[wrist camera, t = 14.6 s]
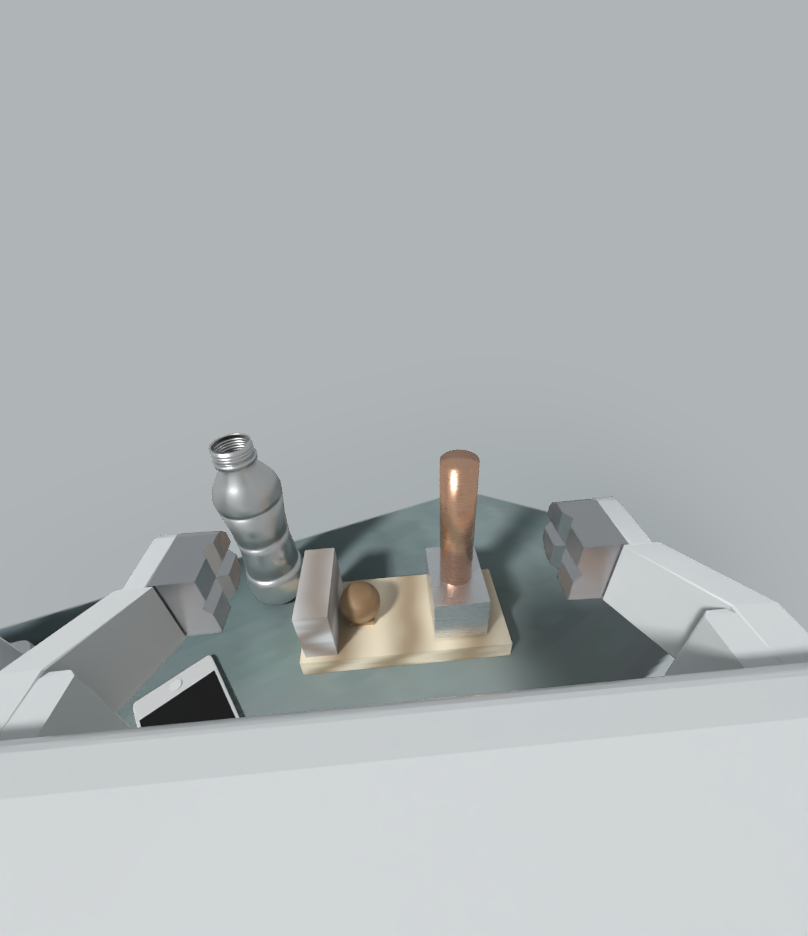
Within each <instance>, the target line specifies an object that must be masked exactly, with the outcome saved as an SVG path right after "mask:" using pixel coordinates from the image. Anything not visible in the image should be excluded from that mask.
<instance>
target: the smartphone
mask: <svg viewBox="0 0 808 936" xmlns="http://www.w3.org/2000/svg"><path fill="white" fill-rule="evenodd" d="M133 711H134V715H135V720H136V724H137V728H138V727H149V726H159V725H169V724H179V723H190V722H200V721H210V720H220V719H231V718H240V717H239V714H238V712H237V710H236V708H235V706H234V703H233V701H232V699H231V697H230V695H229V692H228V690H227V688H226V686H225V684H224V681H223V679H222V677H221V675H220V673H219V670H218V668H217V666H216V664H215V661H214V660H213V658H212V657H211V656H209V655H208V656H206V657H205V658H203V659H202V660H200V661H199V662H197V663H195V664H194V665H192V666H191V667H189V668H188V669H186V670H185V671H183V672H181V673H180V674H178V675H177V676H175V677H174V678H172V679H171V680H169V681H168V682H166V683H164V684H163V685H161V686H160V687H158V688H157V689H155V690H154V691H152V692H150V693H149V694H147V695H146V696H144V697H143V698H141V699H140V700H138V701H137V702H135V703H134V705H133Z"/></svg>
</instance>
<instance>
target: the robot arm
mask: <svg viewBox="0 0 808 936" xmlns="http://www.w3.org/2000/svg"><path fill="white" fill-rule="evenodd" d="M548 516H549V518H550V520H551V522H550V523H549V524H548V525H547V526H546V527H545V529H544V535H543V542H544V549H545V553H546V556H547V558H548V560H549V562H550V564H551V565H553V566H554V567H556V568H557V569H559V572H558V576H557V579H558V581H559V583H560V585H561V587H562V589H563V591H564V593H565V595H566V597H567V599H568V600H577V599H592V598H603V600H604V601H605V602H606V603H608V604H609V605H610V606H611V607H612V608H614V609H615V610H616V611H617V612H619V613H620V614H621V615H622V616H623V617H625V618H626V619H627V620H628V621H630V622H631V623H632V624H633V625H635V626H636V627H637V628H638V629H639V630H641V631H642V632H643V633H644V634H646V635H647V636H648V637H649V638H650V639H652V640H653V641H654V642H655V643H657V644H658V645H659V646H660V647H661V648H663V649H664V650H665V651H666V652H668V653H669V654H670V655H671V656H672V657H674V658H675V660H674V661H673V663H672V664H671V666H670V668H669V669H668V671H667V672H666V674H665V676H661V677H651V678H641V679H630V680H620V681H610V682H600V683H589V684H579V685H569V686H559V687H548V688H538V689H528V690H517V691H507V692H497V693H486V694H476V695H466V696H455V697H445V698H435V699H424V700H414V701H404V702H394V703H384V704H374V705H363V706H353V707H343V708H333V709H323V710H313V711H302V712H292V713H282V714H272V715H261V716H251V717H241V718H231V719H220V720H210V721H200V722H190V723H179V724H169V725H159V726H149V727H138V728H131V726H130V725H129V724H128V723H127V722H126V721H125V720H124V719H123V718H122V717H121V716H120V715H119V714H118V712H119V711H120V710H121V709H122V707H123V706H124V705H125V704H126V703H127V702H128V701H129V700H130V699H131V698H132V697H133V696H134V694H135V693H136V692H137V691H138V690H139V689H140V688H141V687H142V686H143V685H144V684H145V683H146V681H147V680H148V679H149V678H150V677H151V676H152V675H153V674H154V673H155V672H156V671H157V670H158V668H159V667H160V666H161V665H162V664H163V663H164V662H165V661H166V660H167V659H168V658H169V656H170V655H171V654H172V653H173V652H174V651H175V650H176V649H177V648H178V647H179V646H180V645H181V643H182V642H183V641H184V640H185V639H186V636H192V635H200V634H208V633H217V632H223V629H224V626H225V623H226V620H227V618H228V615H229V612H230V609H231V606H230V604H229V602H228V599H229V598H230V597H231V596H232V595H233V594H235V593H236V592H237V589H238V585H239V582H240V571H241V570H240V564H239V560H238V558H237V555H236V554H234V553H233V552H231V551H230V550H228V547H229V544H230V540H229V538H228V536H227V534H226V532H223V531H214V532H198V533H182V534H175V535H174V534H173V535H160V536H159V537H157V538H155V539H154V541H153V542H152V544H151V545H150V547H149V548H148V550H147V551H146V553H145V554H144V556H143V558H142V559H141V561H140V562H139V564H138V565H137V567H136V568H135V570H134V571H133V573H132V574H131V576H130V578H129V579H128V581H127V582H126V584H125V585H124V587H123V588H122V590H115V591H113V592H112V593H111V594H109V595H107V596H106V597H105V598H103V599H102V600H100V601H99V602H97V603H96V604H95V605H93V606H92V607H90V608H89V609H87V610H86V611H85V612H83V613H82V614H80V615H79V616H78V617H76V618H75V619H73V620H72V621H70V622H69V623H68V624H66V625H65V626H63V627H62V628H60V629H59V630H58V631H56V632H55V633H53V634H52V635H50V636H49V637H48V638H46V639H45V640H43V641H42V642H40V643H39V644H38V645H36V646H34V645H33V644H32V643H30V642H28V641H26V640H22V641H17V642H13V643H9V642H7V641H6V640H4V639H3V638H1V637H0V936H808V632H807V631H806V630H805V629H804V628H803V627H802V626H801V625H800V624H799V623H798V622H796V620H795V619H794V618H793V617H792V616H791V615H790V614H789V613H788V612H787V611H786V610H785V609H784V608H782V606H781V605H780V604H779V603H777V602H775V601H774V600H772V599H770V598H768V597H766V596H763V595H762V594H760V593H758V592H756V591H754V590H752V589H750V588H748V587H746V586H744V585H742V584H740V583H739V582H737V581H735V580H733V579H731V578H729V577H727V576H725V575H723V574H721V573H719V572H717V571H715V570H713V569H711V568H709V567H707V566H705V565H703V564H701V563H699V562H697V561H695V560H694V559H692V558H689V557H688V556H685V555H684V554H682V553H680V552H678V551H676V550H674V549H672V548H670V547H668V546H666V545H664V544H662V543H660V542H652V541H651V540H650V538H649V537H648V536H647V535H646V534H645V532H644V531H643V530H642V529H641V528H640V526H639V525H638V524H637V523H636V522H635V521H634V519H633V518H632V517H631V515H630V514H629V513H628V512H627V511H626V509H625V508H624V507H623V506H622V505H621V503H620V502H619V501H618V500H617V499H616V498H614V497H602V498H592V499H585V500H574V501H563V502H554V503H552V504H551V505H550V507H549V510H548Z"/></svg>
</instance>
